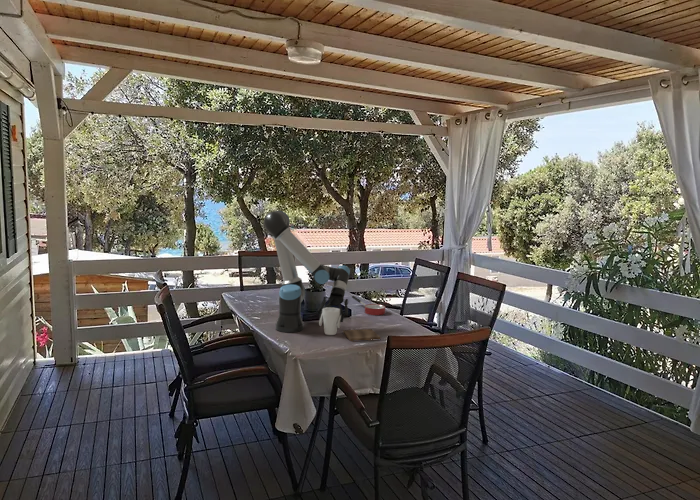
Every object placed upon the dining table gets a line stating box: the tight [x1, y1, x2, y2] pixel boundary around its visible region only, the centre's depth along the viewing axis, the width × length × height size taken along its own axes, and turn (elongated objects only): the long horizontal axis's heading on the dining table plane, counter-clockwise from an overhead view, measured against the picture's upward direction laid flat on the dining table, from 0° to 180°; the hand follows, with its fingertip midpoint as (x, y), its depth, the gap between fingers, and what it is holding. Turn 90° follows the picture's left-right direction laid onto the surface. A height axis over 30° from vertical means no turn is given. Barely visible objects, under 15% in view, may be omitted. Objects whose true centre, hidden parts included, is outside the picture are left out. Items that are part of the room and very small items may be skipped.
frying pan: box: [351, 295, 386, 316], centre depth 315 cm, size 32×13×6 cm, turn 39°
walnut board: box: [342, 328, 381, 342], centre depth 256 cm, size 16×15×2 cm
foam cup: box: [322, 306, 341, 336], centre depth 258 cm, size 10×9×13 cm
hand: (329, 325), depth 255 cm, fingers closed on foam cup, 9 cm apart
